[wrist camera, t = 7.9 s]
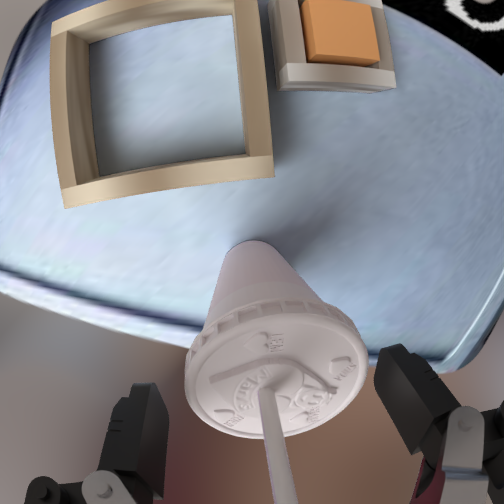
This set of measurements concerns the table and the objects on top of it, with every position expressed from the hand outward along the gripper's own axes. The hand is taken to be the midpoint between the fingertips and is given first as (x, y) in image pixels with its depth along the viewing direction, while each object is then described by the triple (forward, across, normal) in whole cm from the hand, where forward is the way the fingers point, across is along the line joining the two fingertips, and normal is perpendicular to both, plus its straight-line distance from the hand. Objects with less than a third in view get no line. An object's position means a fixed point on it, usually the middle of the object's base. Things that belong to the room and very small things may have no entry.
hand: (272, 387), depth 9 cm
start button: (+8, -5, -13) cm, 16 cm away
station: (+9, 0, -11) cm, 15 cm away
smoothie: (+9, 0, 0) cm, 9 cm away
